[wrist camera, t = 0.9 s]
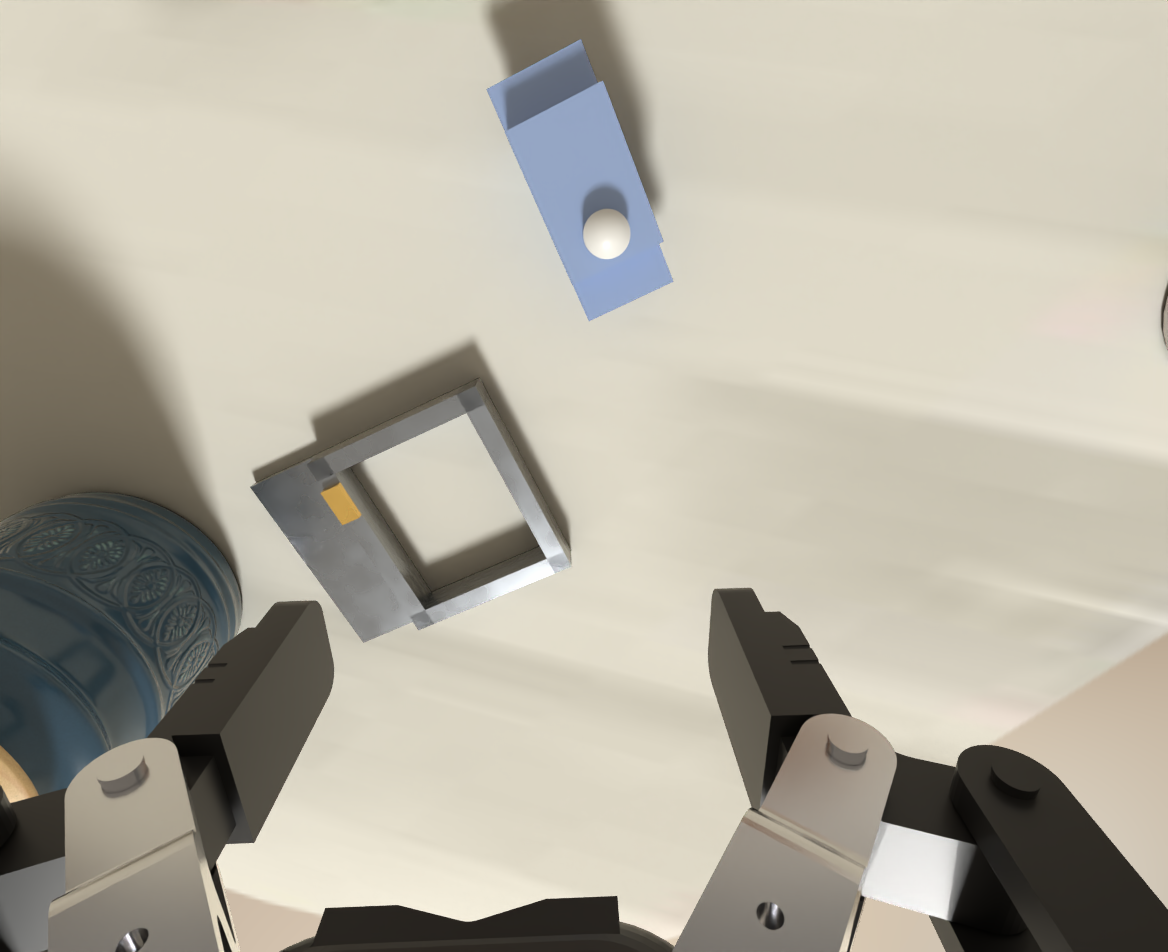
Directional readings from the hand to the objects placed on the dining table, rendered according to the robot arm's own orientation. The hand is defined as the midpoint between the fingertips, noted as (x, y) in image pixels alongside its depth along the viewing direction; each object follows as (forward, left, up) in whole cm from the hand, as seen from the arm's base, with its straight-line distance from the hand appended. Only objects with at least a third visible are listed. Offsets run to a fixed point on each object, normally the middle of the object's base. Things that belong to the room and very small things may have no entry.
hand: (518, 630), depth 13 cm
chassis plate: (+9, +3, -20) cm, 23 cm away
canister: (+26, 0, -21) cm, 33 cm away
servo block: (-6, -8, -20) cm, 22 cm away
